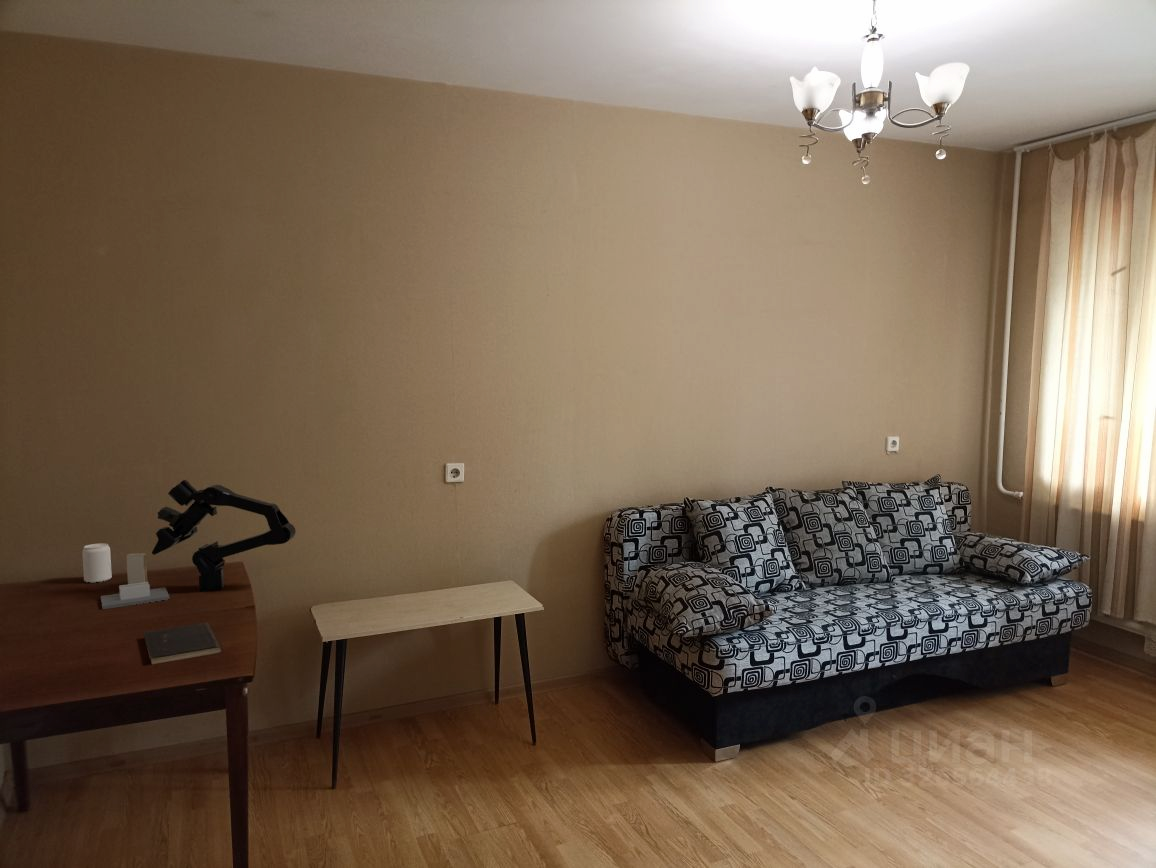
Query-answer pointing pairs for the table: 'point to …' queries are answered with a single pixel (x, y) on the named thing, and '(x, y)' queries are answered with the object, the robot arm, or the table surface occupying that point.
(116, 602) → the grey base plate
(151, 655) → the hardcover book
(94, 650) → the table surface
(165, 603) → the table surface
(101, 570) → the beverage can
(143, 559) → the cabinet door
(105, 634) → the table surface
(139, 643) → the table surface
